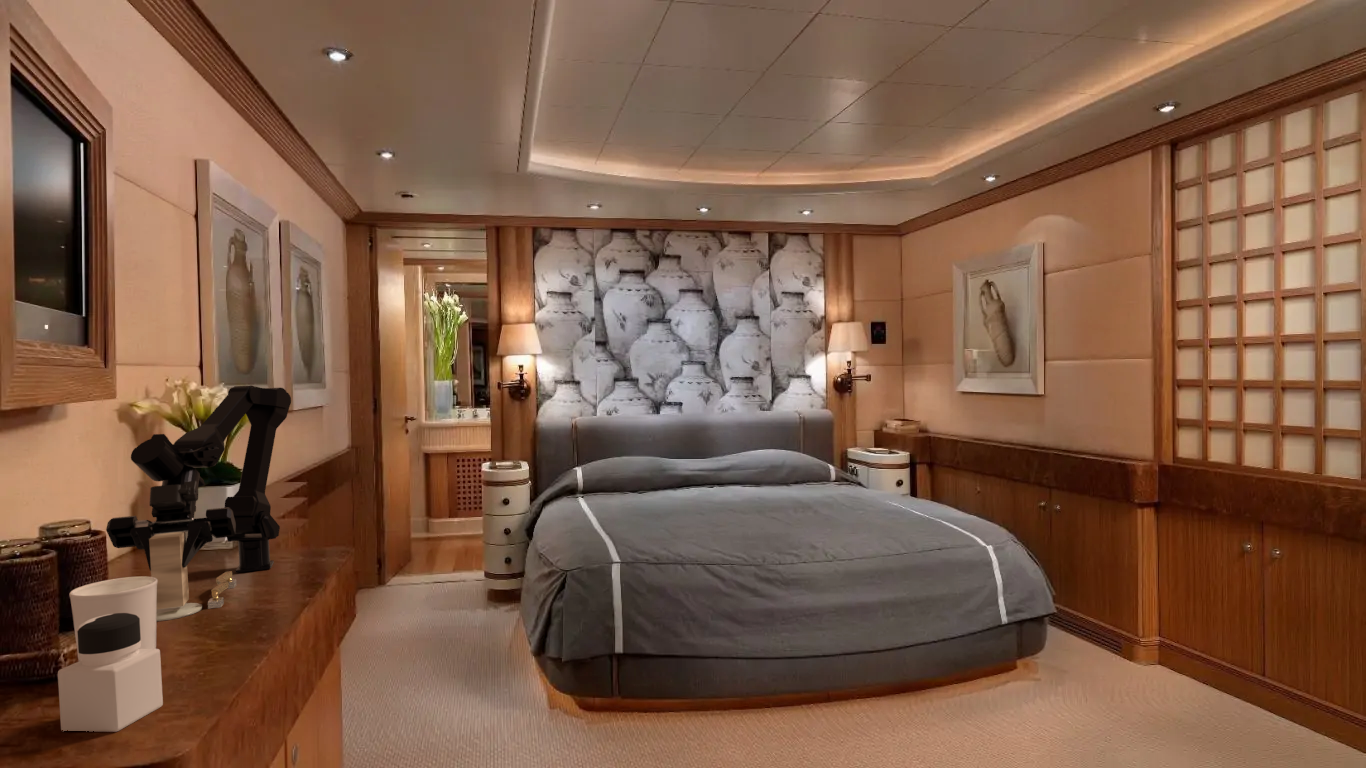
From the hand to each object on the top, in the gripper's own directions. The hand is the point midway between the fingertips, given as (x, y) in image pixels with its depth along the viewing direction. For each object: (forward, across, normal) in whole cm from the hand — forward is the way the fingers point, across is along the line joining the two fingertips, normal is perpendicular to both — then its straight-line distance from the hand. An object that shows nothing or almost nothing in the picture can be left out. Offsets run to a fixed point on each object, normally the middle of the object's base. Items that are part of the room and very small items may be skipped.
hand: (167, 568), depth 135 cm
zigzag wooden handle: (-1, +6, +12) cm, 14 cm away
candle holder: (+26, 0, -14) cm, 30 cm away
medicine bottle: (+39, +4, -27) cm, 48 cm away
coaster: (+5, 0, +7) cm, 8 cm away
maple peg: (+4, 0, +6) cm, 7 cm away
